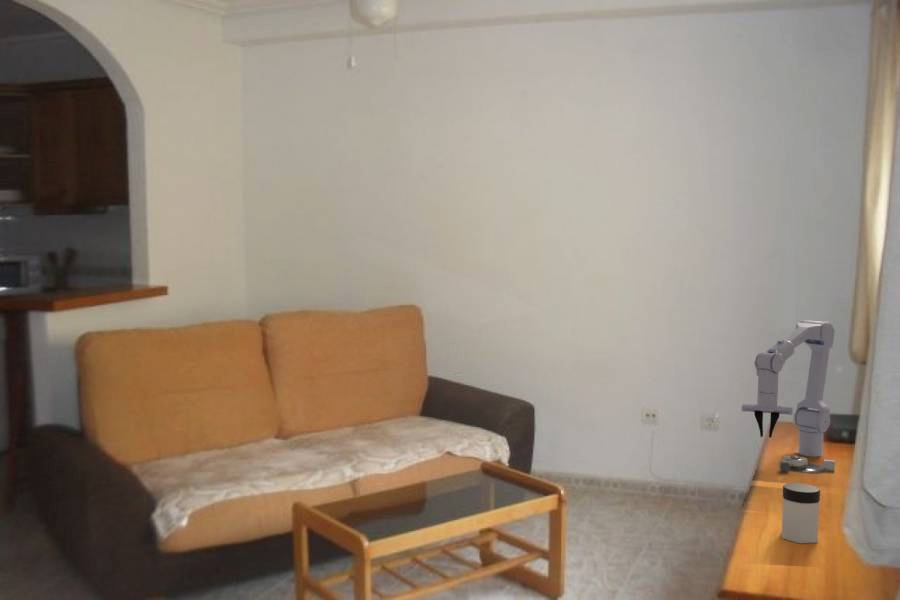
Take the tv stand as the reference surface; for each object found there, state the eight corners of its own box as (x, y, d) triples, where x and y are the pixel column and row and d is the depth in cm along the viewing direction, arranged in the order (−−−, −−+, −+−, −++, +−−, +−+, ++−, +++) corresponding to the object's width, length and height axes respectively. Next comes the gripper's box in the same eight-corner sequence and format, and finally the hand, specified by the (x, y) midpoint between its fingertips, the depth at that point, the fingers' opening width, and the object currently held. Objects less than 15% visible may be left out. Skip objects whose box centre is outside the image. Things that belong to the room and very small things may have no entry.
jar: (826, 539, 213) (828, 488, 212) (808, 546, 208) (810, 494, 207) (791, 529, 220) (793, 480, 219) (772, 536, 215) (774, 486, 214)
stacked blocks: (779, 474, 271) (780, 460, 270) (788, 475, 270) (789, 461, 270) (779, 477, 268) (780, 462, 268) (788, 478, 267) (789, 463, 267)
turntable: (782, 463, 282) (782, 451, 282) (832, 468, 277) (833, 456, 277) (782, 473, 270) (782, 461, 270) (835, 478, 265) (836, 466, 265)
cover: (782, 463, 279) (782, 452, 279) (806, 465, 277) (807, 454, 277) (782, 468, 273) (782, 457, 273) (807, 470, 270) (808, 460, 270)
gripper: (742, 392, 275) (740, 437, 276) (793, 395, 270) (791, 441, 271) (742, 388, 281) (741, 432, 282) (793, 392, 277) (791, 436, 278)
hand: (765, 436), depth 277 cm, fingers closed
